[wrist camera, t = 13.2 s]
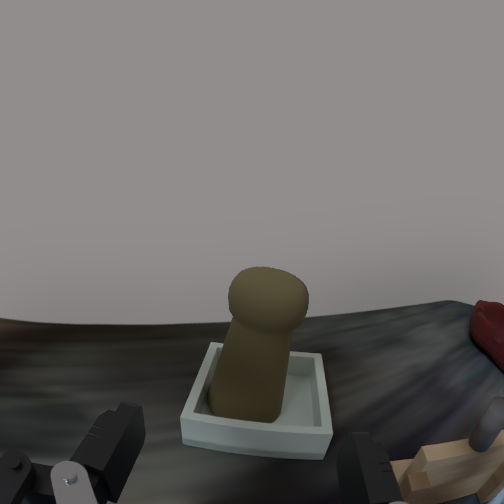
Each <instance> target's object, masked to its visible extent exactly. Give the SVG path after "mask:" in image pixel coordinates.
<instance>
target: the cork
mask: <svg viewBox="0 0 504 504" xmlns="http://www.w3.org/2000/svg"><path fill="white" fill-rule="evenodd" d="M228 300H229V310H230V312H231V314H232V315H233V318H232V321H231V324H230V327H229V330H228V333H227V336H226V339H225V342H224V344H223V347H222V350H221V353H220V356H219V359H218V362H217V365H216V368H215V371H214V374H213V377H212V380H211V383H210V386H209V389H208V392H207V404H208V407H209V409H210V411H211V412H212V413H213V414H214V415H215V416H216V417H222V418H229V419H236V420H244V421H252V422H261V423H273V422H274V421H276V419H277V418H278V417H279V415H280V414H281V408H282V402H283V396H284V390H285V383H286V376H287V370H288V363H289V356H290V348H291V341H292V333H293V330H294V329H295V328H297V327H298V326H299V325H300V324H301V322H302V321H303V319H304V318H305V316H306V313H307V310H308V304H309V303H308V302H309V294H308V291H307V288H306V286H305V284H304V283H303V282H302V281H301V280H300V279H299V278H297V277H296V276H294V275H292V274H290V273H288V272H285V271H283V270H279V269H275V268H269V267H252V268H248V269H245V270H243V271H241V272H240V273H239V274H238V275H237V276H236V277H235V278H234V280H233V281H232V283H231V286H230V288H229V293H228Z"/></svg>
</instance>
